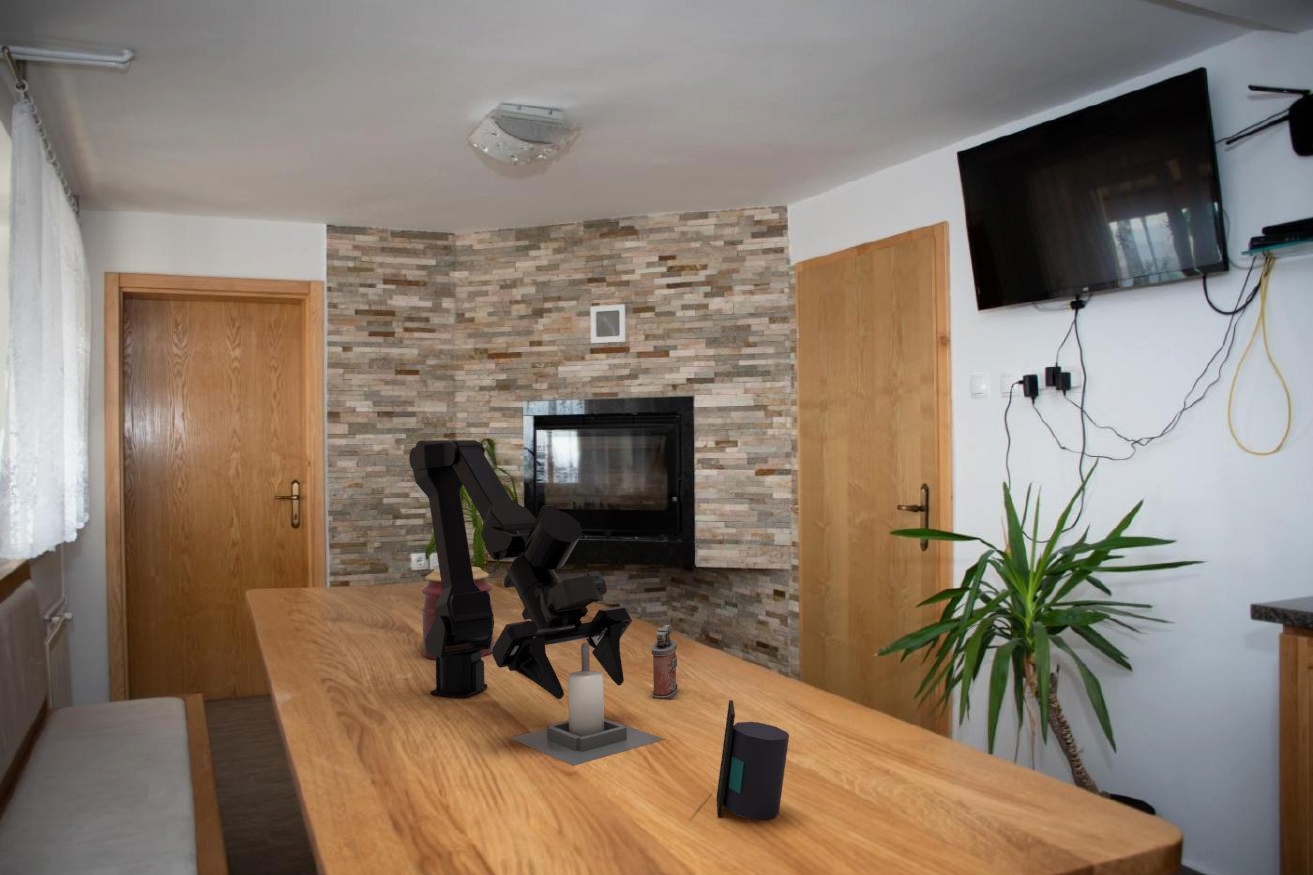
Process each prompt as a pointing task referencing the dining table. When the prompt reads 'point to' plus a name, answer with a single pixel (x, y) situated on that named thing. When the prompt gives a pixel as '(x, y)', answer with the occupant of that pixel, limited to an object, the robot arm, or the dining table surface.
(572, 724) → the plug
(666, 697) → the lighter
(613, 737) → the dock
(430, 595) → the canister
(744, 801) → the speaker
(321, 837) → the dining table surface
